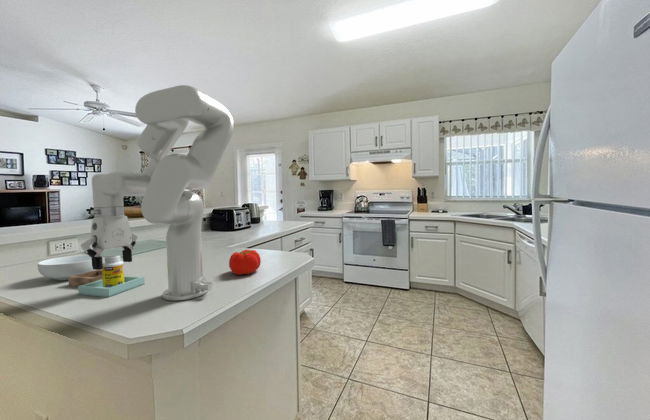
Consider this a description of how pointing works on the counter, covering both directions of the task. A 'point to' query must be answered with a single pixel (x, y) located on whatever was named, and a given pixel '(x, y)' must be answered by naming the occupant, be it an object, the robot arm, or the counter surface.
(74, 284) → the socket block
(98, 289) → the tray
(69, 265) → the cereal bowl
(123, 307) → the counter surface
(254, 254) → the tomato
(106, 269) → the supplement bottle
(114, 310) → the counter surface
